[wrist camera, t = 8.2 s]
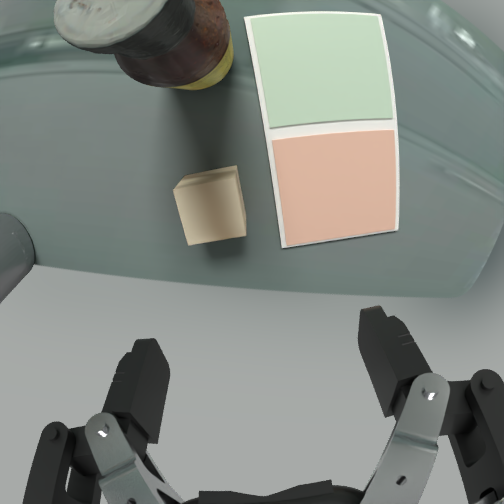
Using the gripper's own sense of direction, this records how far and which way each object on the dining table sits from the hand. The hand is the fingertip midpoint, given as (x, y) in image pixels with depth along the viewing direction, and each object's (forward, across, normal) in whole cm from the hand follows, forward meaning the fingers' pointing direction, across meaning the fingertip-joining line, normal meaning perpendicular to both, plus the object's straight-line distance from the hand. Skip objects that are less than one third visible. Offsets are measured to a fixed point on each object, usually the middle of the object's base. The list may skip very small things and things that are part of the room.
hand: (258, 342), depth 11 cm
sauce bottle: (+20, +2, -13) cm, 24 cm away
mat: (+19, -9, -5) cm, 22 cm away
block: (+20, +3, 0) cm, 20 cm away
